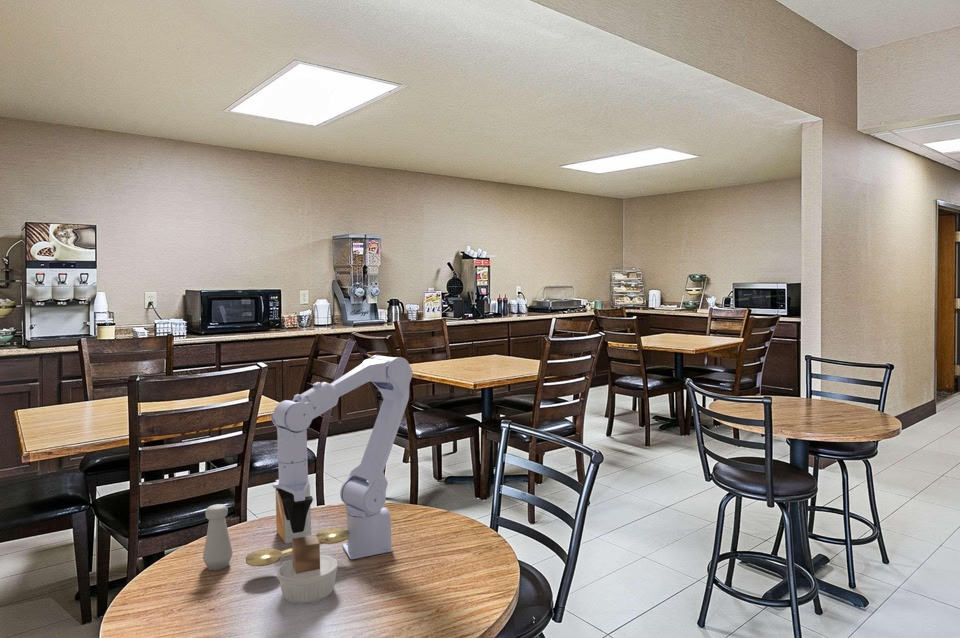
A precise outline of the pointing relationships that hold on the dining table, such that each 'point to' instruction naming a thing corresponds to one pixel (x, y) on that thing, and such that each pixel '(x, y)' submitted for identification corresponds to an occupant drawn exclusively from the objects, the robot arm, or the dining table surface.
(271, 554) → the balance
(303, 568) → the block
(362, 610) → the dining table surface
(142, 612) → the dining table surface
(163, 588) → the dining table surface
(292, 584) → the ramekin
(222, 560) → the salt shaker
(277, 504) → the small box
